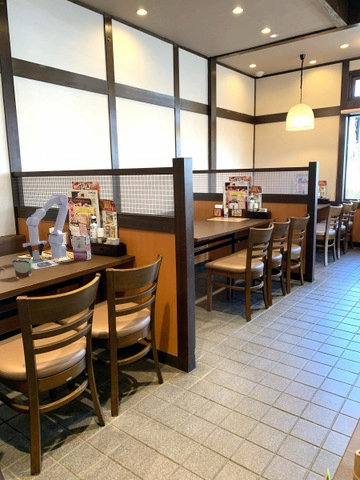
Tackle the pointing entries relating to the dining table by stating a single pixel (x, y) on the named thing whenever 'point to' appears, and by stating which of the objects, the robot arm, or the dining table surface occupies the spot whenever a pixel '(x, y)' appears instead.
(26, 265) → the food container
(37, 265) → the panel
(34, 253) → the plug
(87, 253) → the candy bar box
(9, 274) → the dining table surface
